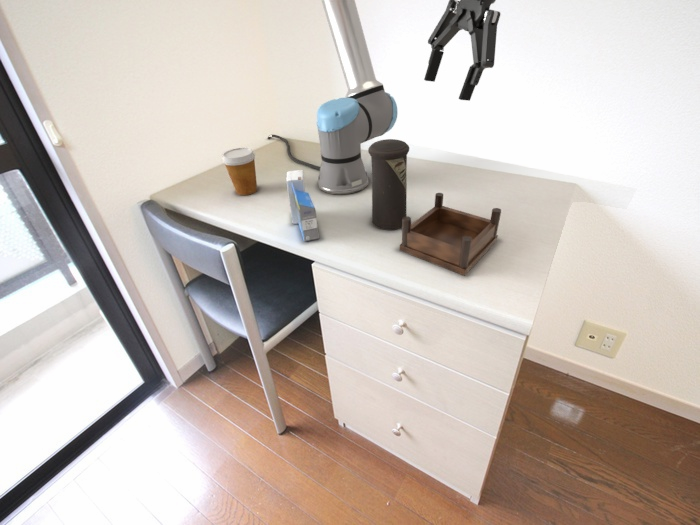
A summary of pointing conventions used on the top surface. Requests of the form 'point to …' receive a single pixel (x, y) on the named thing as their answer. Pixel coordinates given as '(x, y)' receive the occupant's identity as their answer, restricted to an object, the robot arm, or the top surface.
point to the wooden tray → (450, 236)
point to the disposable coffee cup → (241, 169)
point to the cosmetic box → (298, 185)
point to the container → (389, 183)
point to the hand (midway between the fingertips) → (445, 89)
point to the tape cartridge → (306, 215)
